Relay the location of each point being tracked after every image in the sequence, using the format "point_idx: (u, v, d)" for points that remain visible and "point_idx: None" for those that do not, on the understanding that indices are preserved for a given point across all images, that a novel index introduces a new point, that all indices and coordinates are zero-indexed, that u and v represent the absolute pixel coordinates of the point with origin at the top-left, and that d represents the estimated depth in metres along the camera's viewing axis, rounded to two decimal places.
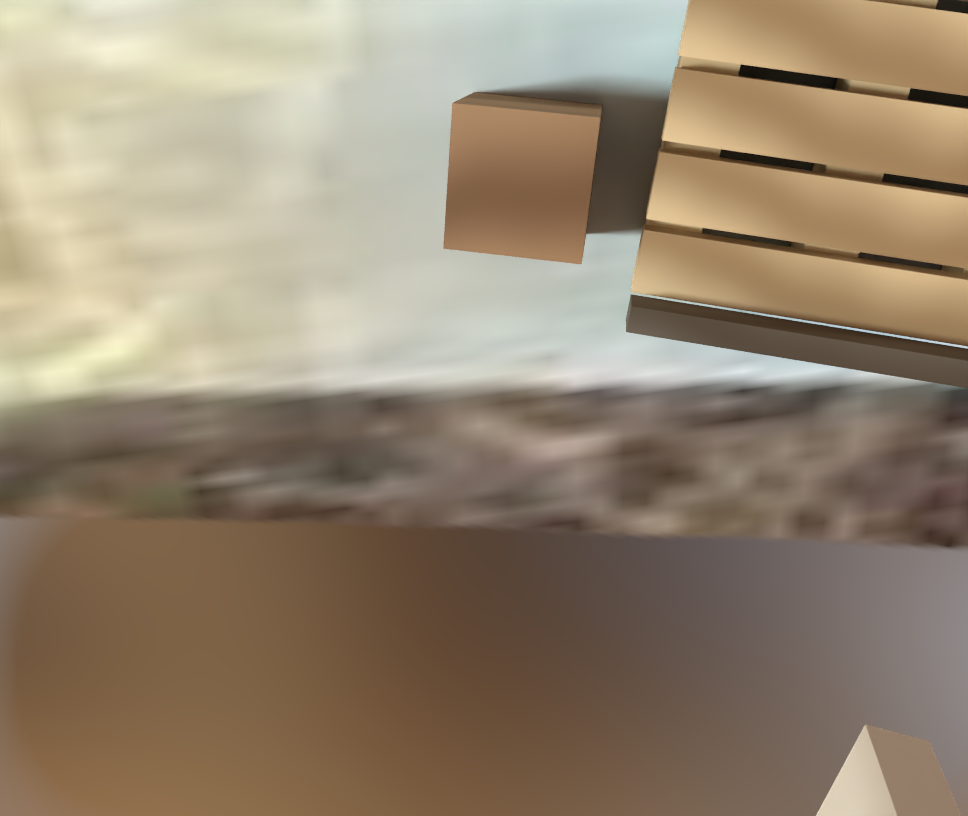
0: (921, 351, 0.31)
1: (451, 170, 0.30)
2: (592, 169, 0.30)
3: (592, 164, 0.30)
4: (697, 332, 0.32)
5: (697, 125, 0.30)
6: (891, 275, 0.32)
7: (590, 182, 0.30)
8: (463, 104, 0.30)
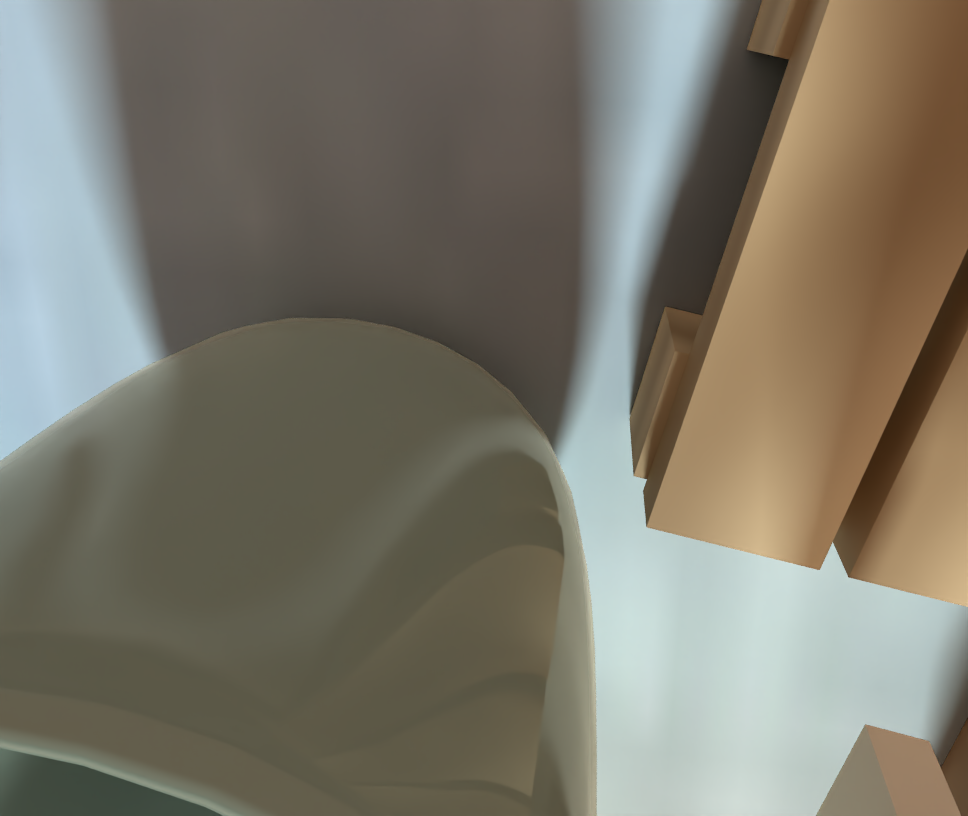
0: None
1: None
2: None
3: None
4: None
5: None
6: None
7: None
8: None
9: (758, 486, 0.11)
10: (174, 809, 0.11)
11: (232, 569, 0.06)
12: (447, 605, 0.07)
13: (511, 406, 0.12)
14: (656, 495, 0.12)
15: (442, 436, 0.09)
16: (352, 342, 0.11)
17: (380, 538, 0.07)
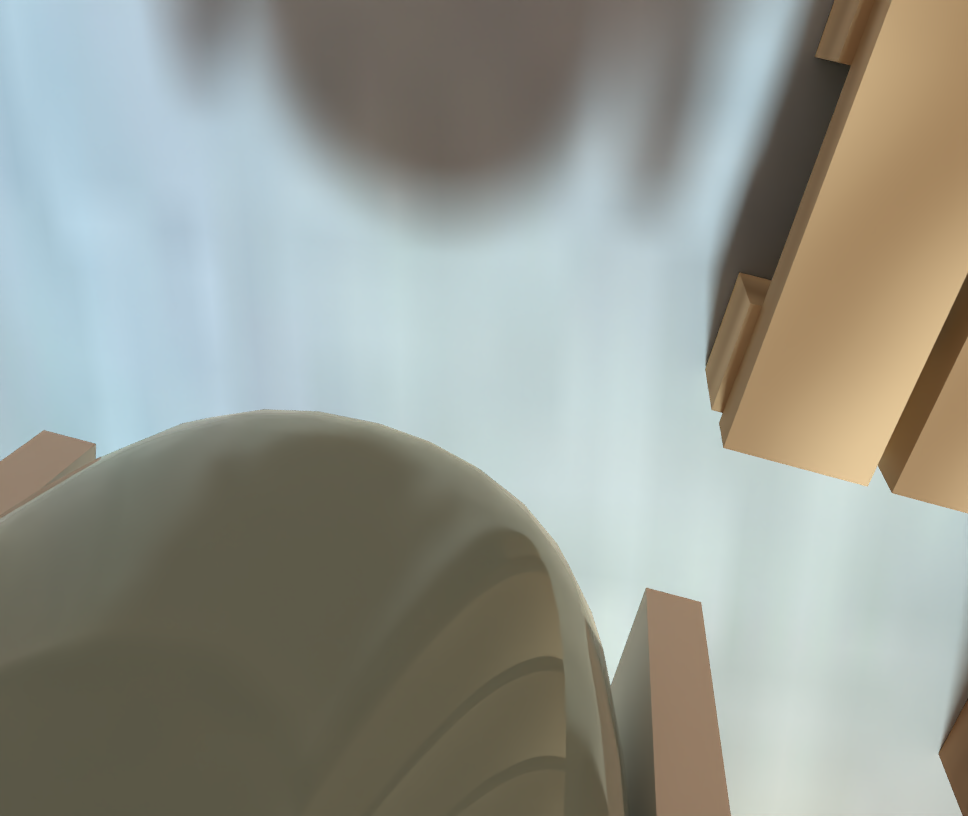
0: None
1: None
2: None
3: None
4: None
5: None
6: None
7: None
8: None
9: (818, 413, 0.14)
10: None
11: None
12: None
13: (523, 542, 0.09)
14: (732, 421, 0.14)
15: (423, 631, 0.07)
16: (311, 465, 0.08)
17: None
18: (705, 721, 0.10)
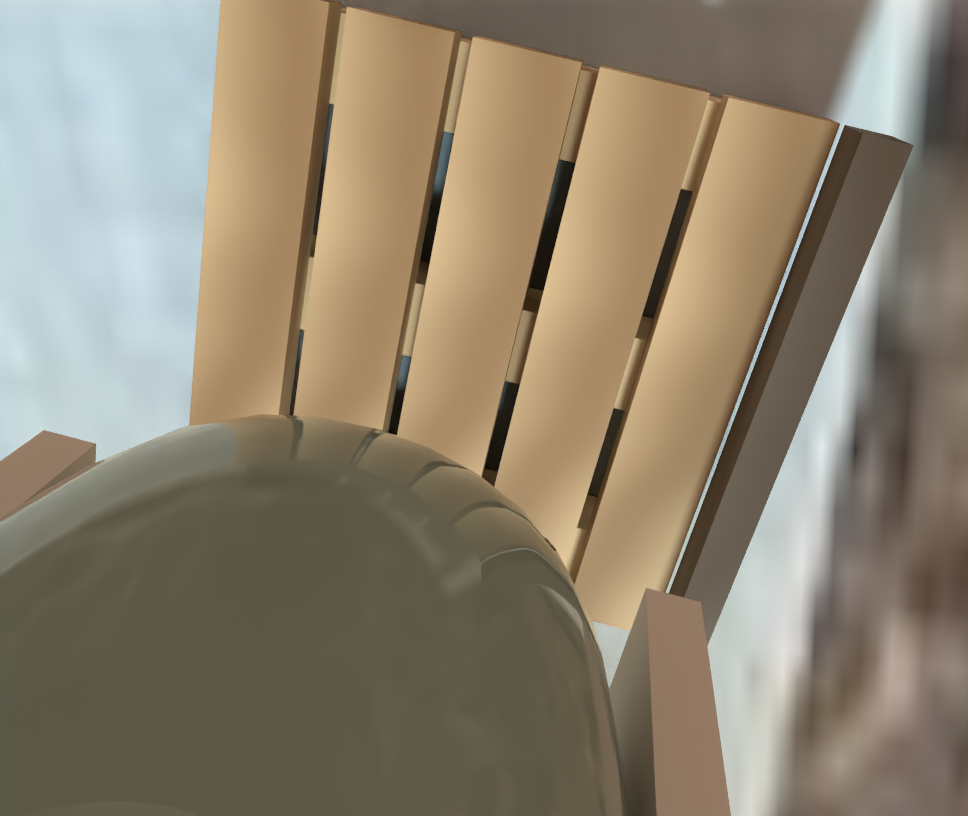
0: (795, 300, 0.19)
1: None
2: None
3: None
4: (706, 603, 0.22)
5: None
6: (670, 317, 0.21)
7: None
8: None
9: None
10: None
11: None
12: None
13: (524, 550, 0.09)
14: None
15: (420, 643, 0.06)
16: (307, 471, 0.08)
17: None
18: (705, 721, 0.10)
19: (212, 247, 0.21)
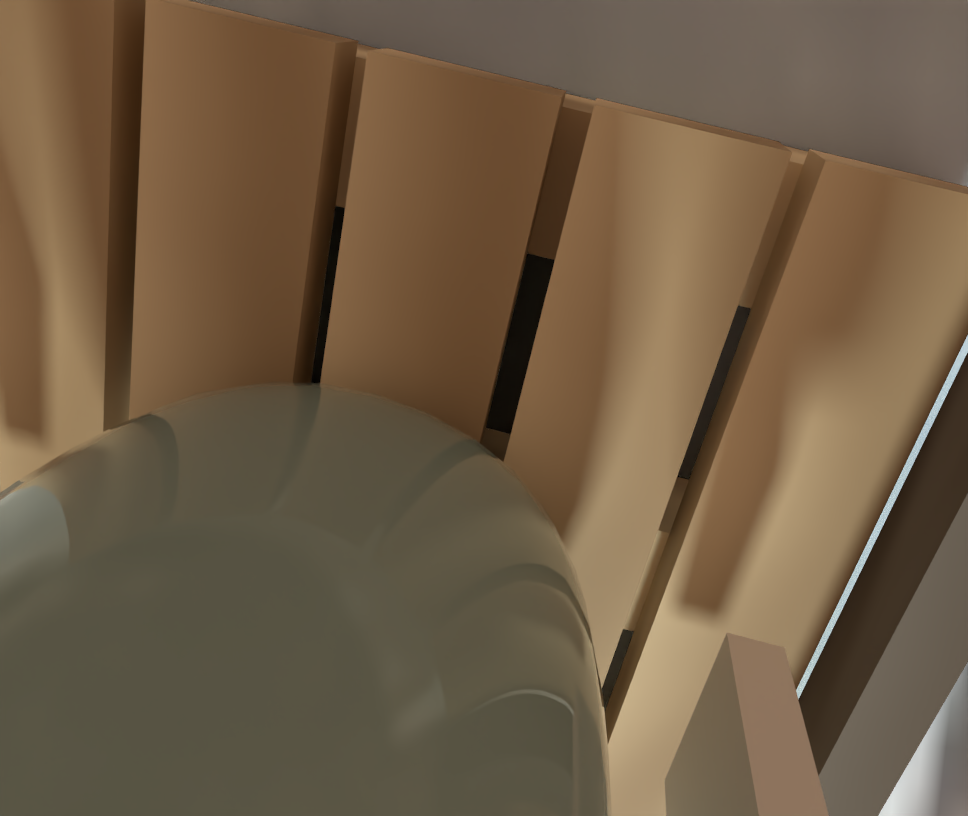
0: (941, 520, 0.11)
1: None
2: None
3: None
4: None
5: None
6: (713, 516, 0.12)
7: None
8: None
9: None
10: None
11: None
12: None
13: (513, 501, 0.10)
14: None
15: (419, 569, 0.07)
16: (317, 426, 0.09)
17: (316, 762, 0.05)
18: (808, 784, 0.09)
19: None
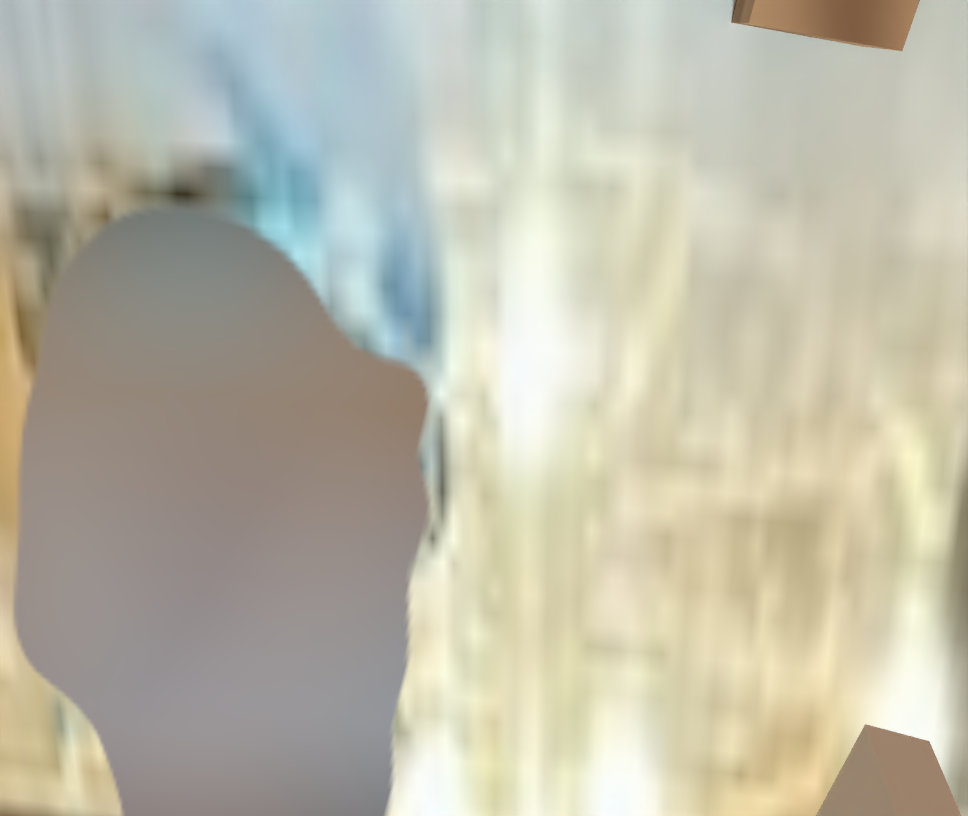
0: None
1: (817, 31, 0.28)
2: None
3: None
4: None
5: None
6: None
7: None
8: (752, 10, 0.29)
9: None
10: None
11: None
12: None
13: None
14: None
15: None
16: None
17: None
18: None
19: None
